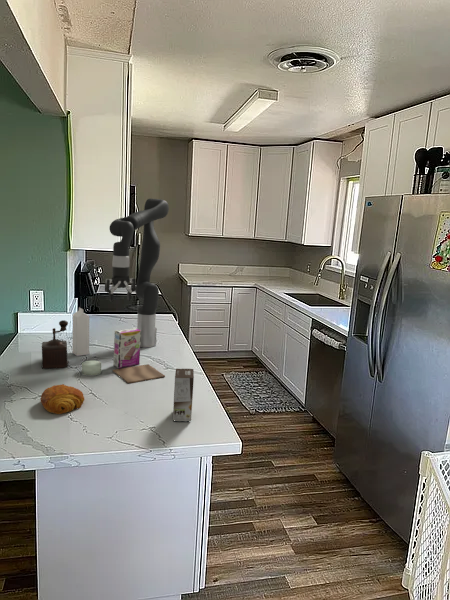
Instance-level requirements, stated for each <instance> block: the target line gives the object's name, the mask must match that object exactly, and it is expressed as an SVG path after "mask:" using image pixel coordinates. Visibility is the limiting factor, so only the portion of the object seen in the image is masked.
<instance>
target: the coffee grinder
mask: <svg viewBox="0 0 450 600" xmlns="http://www.w3.org/2000/svg"><path fill="white" fill-rule="evenodd" d="M58 325H59V326H60V329H59V330H56V327H54V328H52V329H51V330H52V335H53V336H52V338H53V339H51V340H48V341H41V342H42V343H41V365H42V366H41V368H42V369H41V370H53V369H66V368H68V365H69V360H68V343H67V340H64V339H58V338H57V339H56V334H57V333H61V332H62V333H64V332H65V331H67V326H68V325H69V322H68V321H67V320H60V321H59V322H58Z"/></svg>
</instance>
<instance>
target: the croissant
mask: <svg viewBox="0 0 450 600" xmlns="http://www.w3.org/2000/svg"><path fill="white" fill-rule="evenodd" d="M85 400H86V399H85V395H84V393H83V391H82V390H80V389H79V388H76V387H74V386H69V385H65V383H64V384H63V383H62V384H56V385H51V386H49V387H47V388H45V389H44V391H43V392H42V393H41V395H40V400H39V401H40V403H41V404H42V407H43V408H44V409H45V410H46V411H47V412H48V413H51V414H56V415H62V414H66V413H70V412H72V411H73V409H74V410H78V409H77V408H79V409H80V408H81V407H82V405H83V404H84V402H85Z"/></svg>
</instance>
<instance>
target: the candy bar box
mask: <svg viewBox="0 0 450 600" xmlns="http://www.w3.org/2000/svg"><path fill="white" fill-rule="evenodd" d="M140 343H141V330H139V329H137V327H132V328H126V329H118V330H114V343H113V367H115V368H117V369H121V368H128V367H134V366H139V365H140V357H141V347H140Z"/></svg>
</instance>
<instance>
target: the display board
mask: <svg viewBox="0 0 450 600" xmlns="http://www.w3.org/2000/svg"><path fill="white" fill-rule="evenodd" d="M112 372H113V373H114V374H116V375H117V376H118V377H119V376H120V377H119V378H120V379H122V380H123V381H124V382H125V383H127V384H129V385H130V384H134V383H140V382H145V380H146V381H151V379H152V380H156V379H162V378H165V377H166V375H165V374H163V373H162V372H160V371H159V370H158V369H156V368H155V367H153V366H152V365H150V364H142V365H133V366H128V367H123V368H117V369H112Z"/></svg>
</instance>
